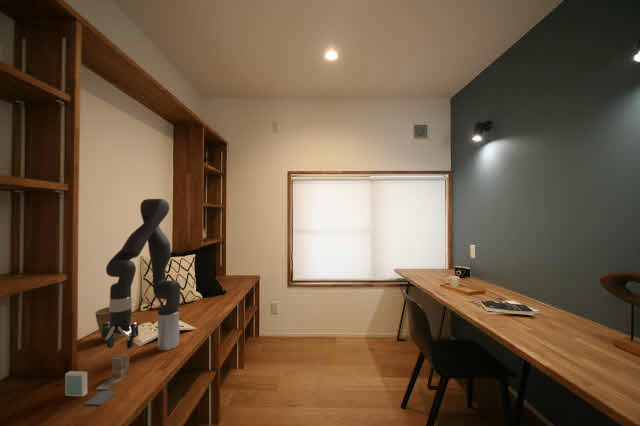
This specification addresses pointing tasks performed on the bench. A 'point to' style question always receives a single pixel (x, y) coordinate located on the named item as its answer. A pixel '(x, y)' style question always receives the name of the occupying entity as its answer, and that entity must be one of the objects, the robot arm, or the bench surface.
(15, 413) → the bench surface
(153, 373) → the bench surface
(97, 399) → the mat
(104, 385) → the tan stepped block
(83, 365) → the bench surface
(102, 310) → the plant pot
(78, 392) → the slab tile
